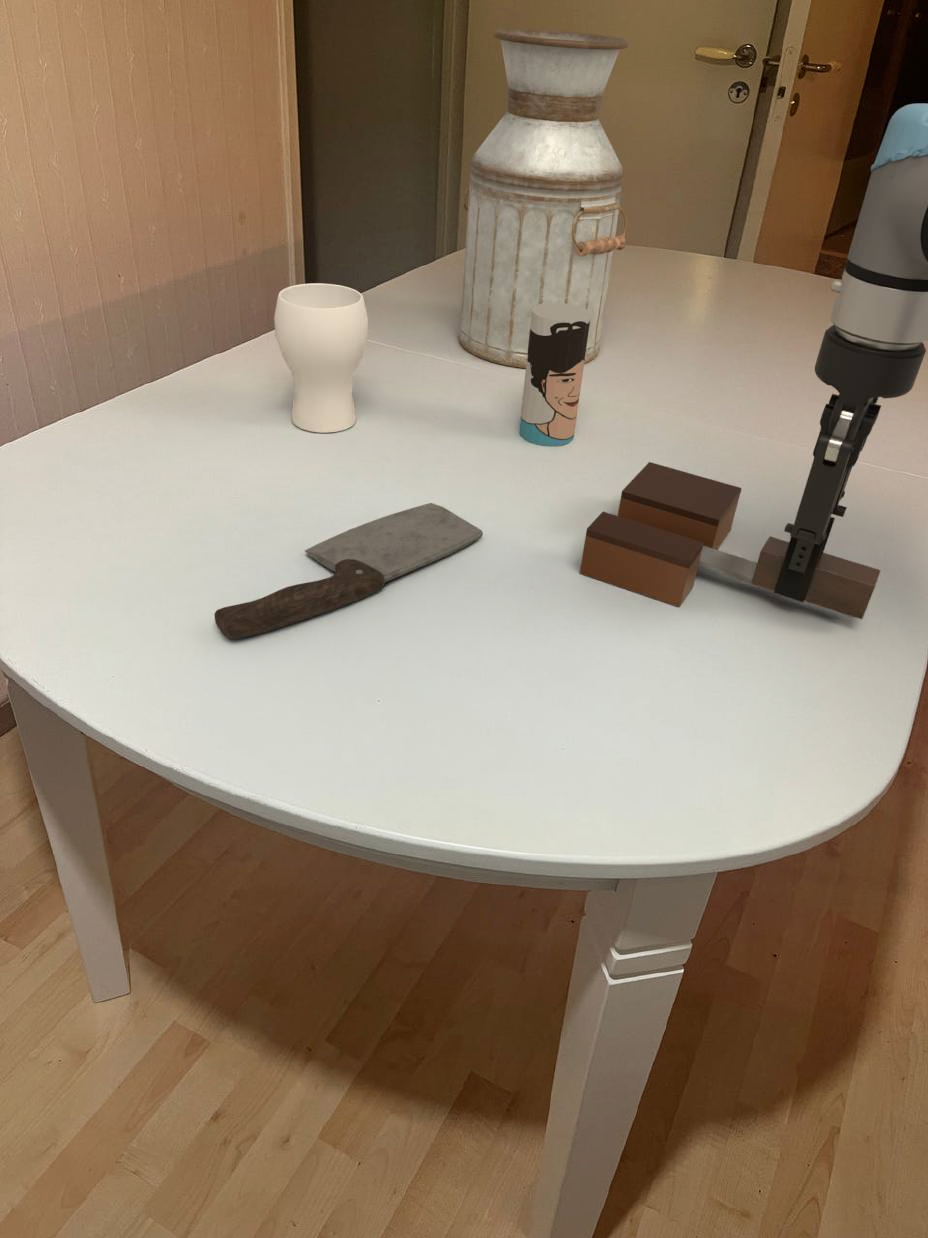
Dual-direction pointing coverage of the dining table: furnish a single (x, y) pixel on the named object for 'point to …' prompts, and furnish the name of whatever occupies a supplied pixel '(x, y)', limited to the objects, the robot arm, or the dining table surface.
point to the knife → (830, 585)
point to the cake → (681, 503)
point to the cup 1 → (322, 351)
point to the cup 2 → (554, 373)
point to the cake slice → (640, 558)
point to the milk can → (542, 195)
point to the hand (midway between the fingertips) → (794, 585)
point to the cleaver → (355, 567)
